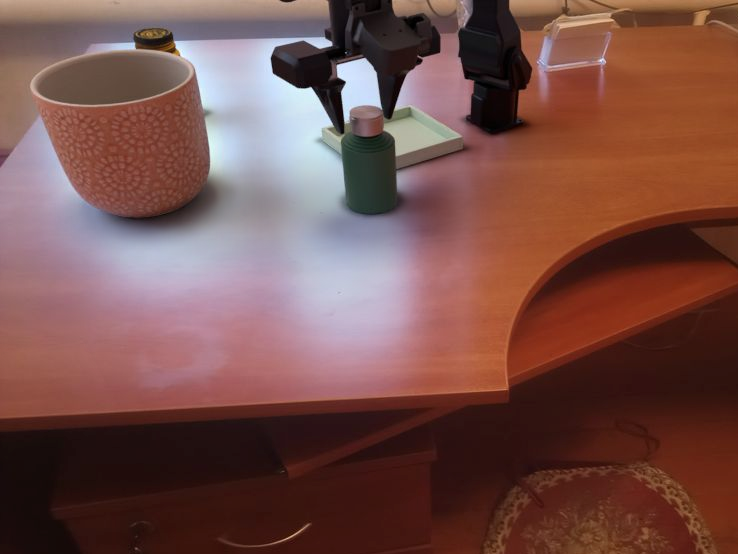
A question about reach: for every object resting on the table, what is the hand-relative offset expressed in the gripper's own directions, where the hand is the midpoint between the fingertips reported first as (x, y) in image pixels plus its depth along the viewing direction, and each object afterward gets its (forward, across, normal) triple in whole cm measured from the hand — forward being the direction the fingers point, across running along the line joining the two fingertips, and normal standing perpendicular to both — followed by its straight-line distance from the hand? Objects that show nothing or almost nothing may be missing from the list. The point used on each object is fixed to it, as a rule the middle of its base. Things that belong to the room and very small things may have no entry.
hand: (364, 125), depth 84 cm
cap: (-1, 0, 0) cm, 1 cm away
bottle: (+10, 0, 0) cm, 10 cm away
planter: (+10, -21, +18) cm, 29 cm away
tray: (+10, +12, +11) cm, 19 cm away
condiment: (+10, -9, +39) cm, 41 cm away
